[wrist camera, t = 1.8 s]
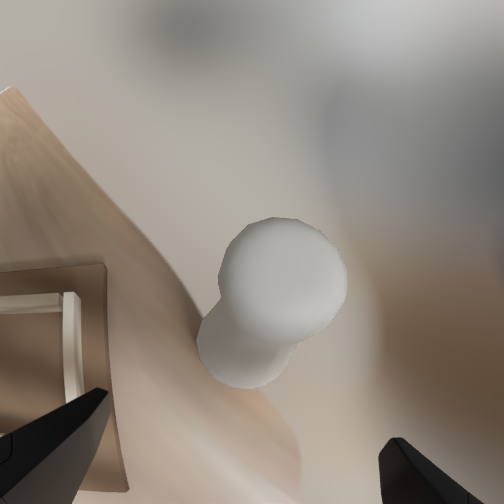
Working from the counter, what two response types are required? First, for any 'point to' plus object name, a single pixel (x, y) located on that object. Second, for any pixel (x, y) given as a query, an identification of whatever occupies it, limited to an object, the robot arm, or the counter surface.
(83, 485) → the collar board
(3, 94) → the counter surface
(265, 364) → the salt shaker
